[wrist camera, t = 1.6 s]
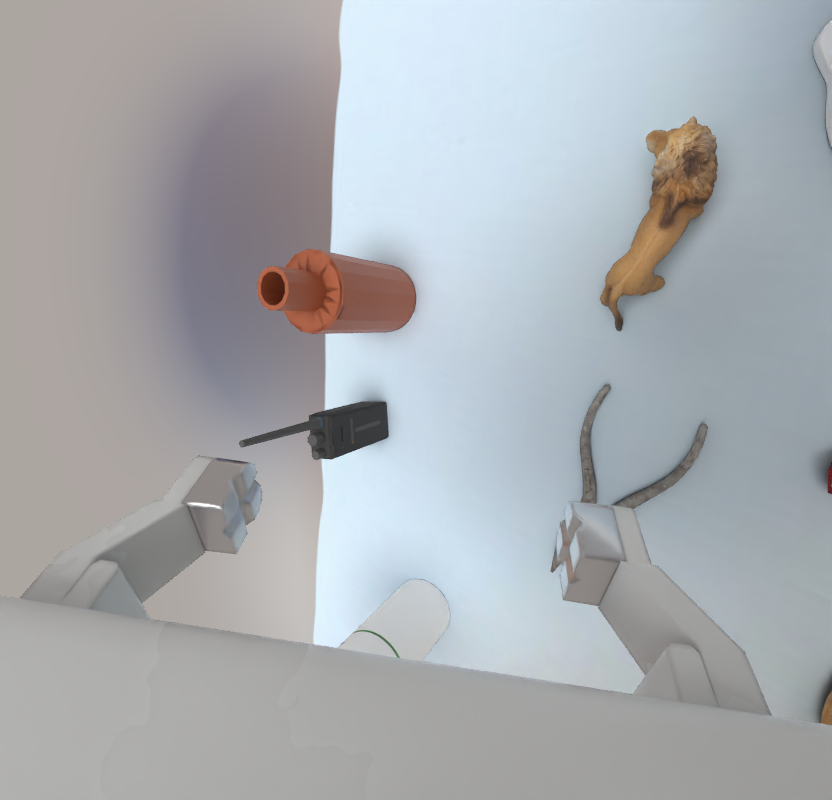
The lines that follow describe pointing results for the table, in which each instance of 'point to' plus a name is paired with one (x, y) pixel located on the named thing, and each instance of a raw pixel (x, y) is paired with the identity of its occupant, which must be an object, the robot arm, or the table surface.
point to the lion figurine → (665, 208)
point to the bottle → (338, 293)
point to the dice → (830, 480)
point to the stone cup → (827, 711)
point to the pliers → (640, 496)
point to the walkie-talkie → (337, 429)
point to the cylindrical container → (404, 623)
